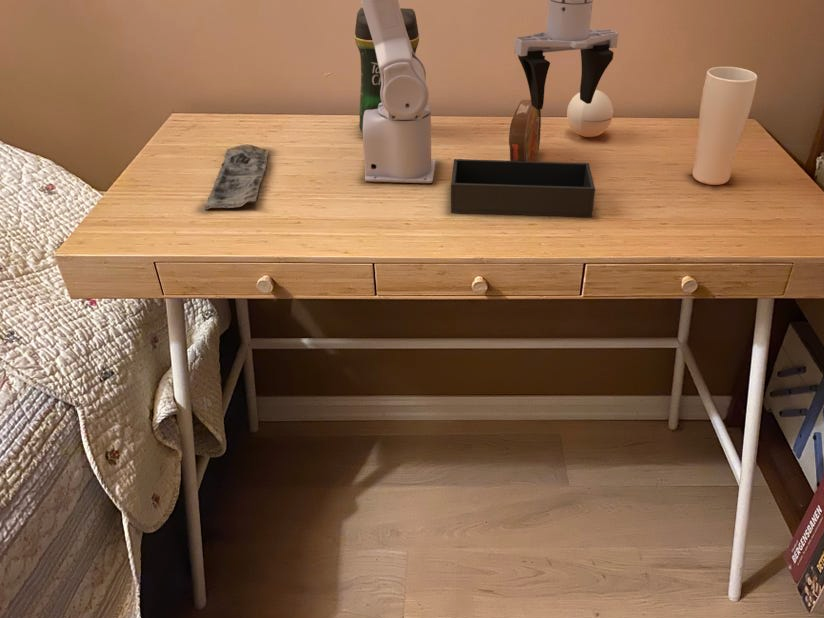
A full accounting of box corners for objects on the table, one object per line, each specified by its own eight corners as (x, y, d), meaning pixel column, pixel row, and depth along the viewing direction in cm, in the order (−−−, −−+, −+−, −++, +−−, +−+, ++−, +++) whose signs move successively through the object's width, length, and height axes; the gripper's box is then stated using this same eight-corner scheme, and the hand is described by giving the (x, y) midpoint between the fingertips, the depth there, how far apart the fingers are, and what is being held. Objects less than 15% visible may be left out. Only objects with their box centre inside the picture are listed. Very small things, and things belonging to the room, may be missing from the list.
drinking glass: (738, 175, 116) (762, 70, 107) (729, 192, 111) (753, 84, 102) (692, 166, 118) (712, 63, 110) (681, 182, 113) (701, 76, 105)
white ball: (568, 144, 124) (572, 97, 120) (562, 127, 130) (566, 82, 126) (631, 144, 125) (637, 98, 121) (622, 128, 131) (628, 83, 127)
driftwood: (228, 150, 119) (226, 137, 118) (274, 150, 120) (273, 136, 118) (203, 212, 102) (201, 197, 101) (257, 212, 103) (255, 197, 102)
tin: (526, 185, 111) (529, 126, 106) (504, 182, 112) (506, 124, 107) (541, 146, 123) (545, 92, 118) (521, 144, 124) (524, 90, 119)
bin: (450, 213, 104) (450, 184, 101) (453, 186, 111) (453, 158, 108) (591, 217, 104) (595, 188, 101) (586, 190, 111) (589, 162, 108)
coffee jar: (358, 140, 123) (350, 14, 112) (362, 123, 130) (354, 1, 119) (420, 141, 124) (418, 15, 113) (421, 123, 130) (418, 2, 119)
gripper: (533, 10, 97) (526, 119, 105) (635, 2, 102) (621, 107, 110) (509, -3, 102) (505, 102, 110) (607, -9, 107) (596, 92, 115)
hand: (561, 104), depth 110 cm, fingers open, 7 cm apart
